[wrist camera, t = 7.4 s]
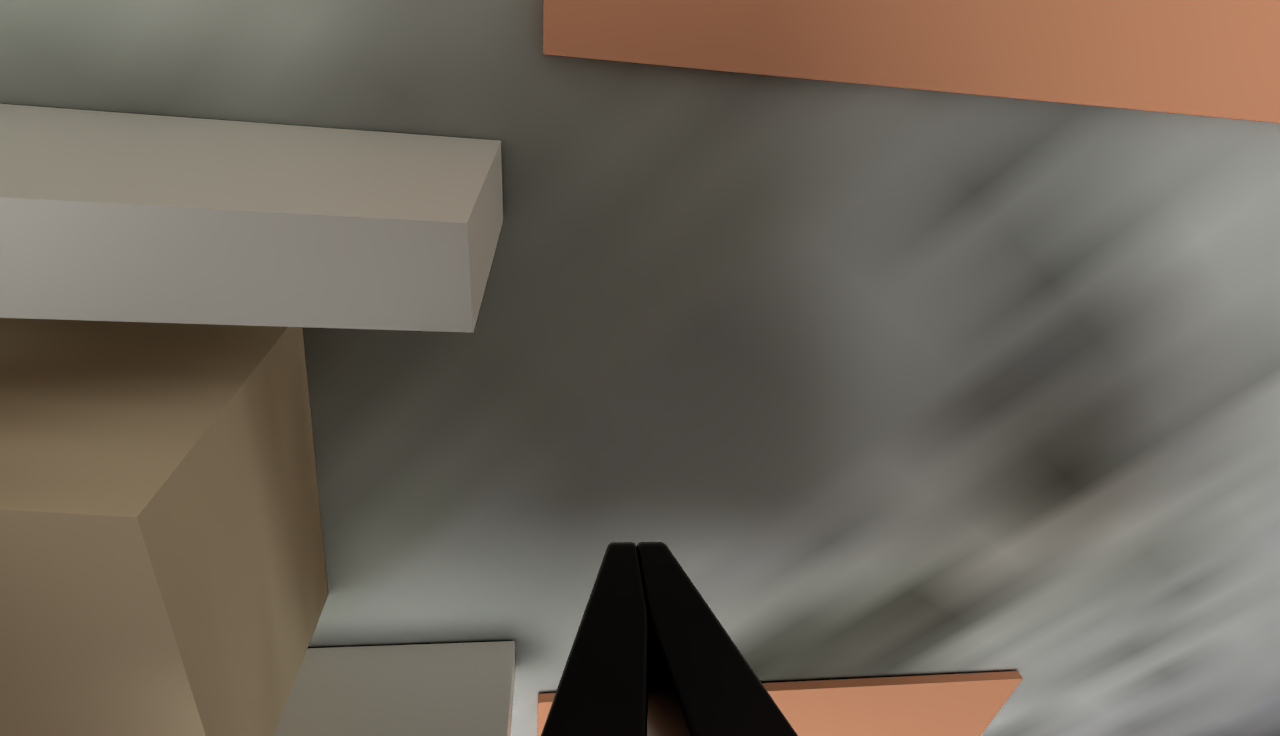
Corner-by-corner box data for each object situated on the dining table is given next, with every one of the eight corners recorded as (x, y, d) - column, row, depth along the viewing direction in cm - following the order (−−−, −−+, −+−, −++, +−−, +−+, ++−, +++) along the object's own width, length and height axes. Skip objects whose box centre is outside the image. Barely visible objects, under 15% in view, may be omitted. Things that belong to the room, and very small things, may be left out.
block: (306, 305, 8) (136, 516, 5) (331, 585, 12) (235, 833, 8) (-232, 238, 7) (-904, 458, 4) (-45, 570, 10) (-336, 851, 7)
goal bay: (501, 140, 7) (465, 222, 5) (515, 669, 13) (503, 831, 11) (-793, 45, 6) (-1858, 93, 3) (-127, 695, 12) (-322, 895, 9)
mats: (2261, -1046, 4) (2330, -1091, 4) (913, 814, 20) (916, 822, 19) (558, -1964, 3) (560, -2095, 3) (537, 845, 18) (536, 853, 18)
